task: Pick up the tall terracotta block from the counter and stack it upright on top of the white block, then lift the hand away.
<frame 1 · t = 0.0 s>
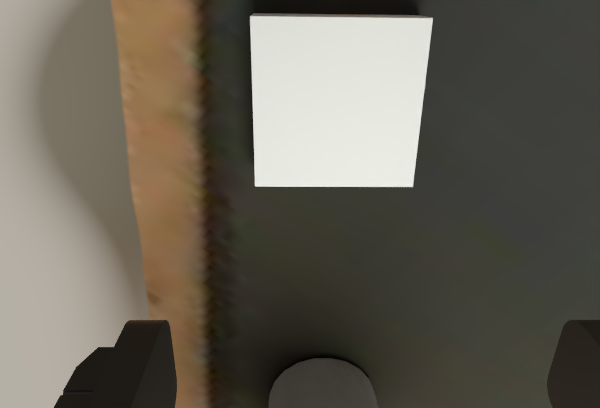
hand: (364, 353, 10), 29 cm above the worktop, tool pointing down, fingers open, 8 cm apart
white block: (333, 96, 37), on the worktop
canister: (321, 392, 50), on the worktop
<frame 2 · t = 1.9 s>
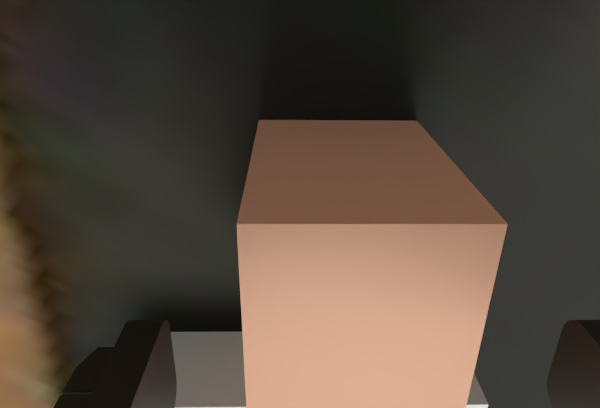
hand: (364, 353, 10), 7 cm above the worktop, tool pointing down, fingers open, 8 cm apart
terracotta block: (334, 191, 16), on the worktop
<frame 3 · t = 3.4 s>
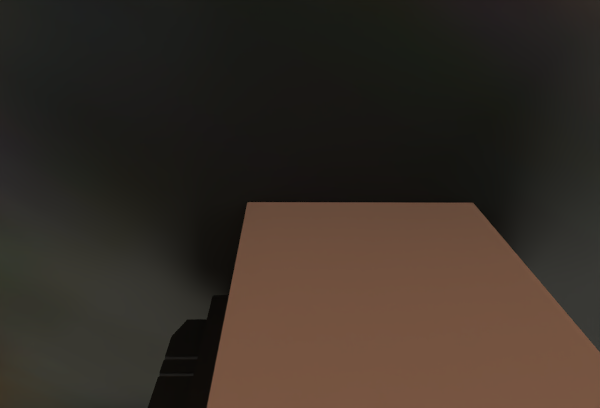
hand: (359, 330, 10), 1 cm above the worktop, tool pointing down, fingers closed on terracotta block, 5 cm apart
terracotta block: (354, 296, 12), on the worktop, touching gripper
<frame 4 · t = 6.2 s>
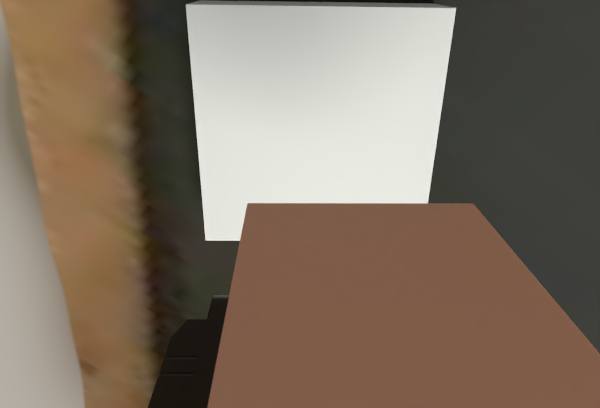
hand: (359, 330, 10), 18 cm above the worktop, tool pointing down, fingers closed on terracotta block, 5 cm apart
white block: (314, 115, 27), on the worktop
terracotta block: (354, 296, 12), point 17 cm above the worktop, touching gripper
when the fingers open (6 cm above the worktop, at t = 9.3 s): terracotta block drops 1 cm, resting on white block.
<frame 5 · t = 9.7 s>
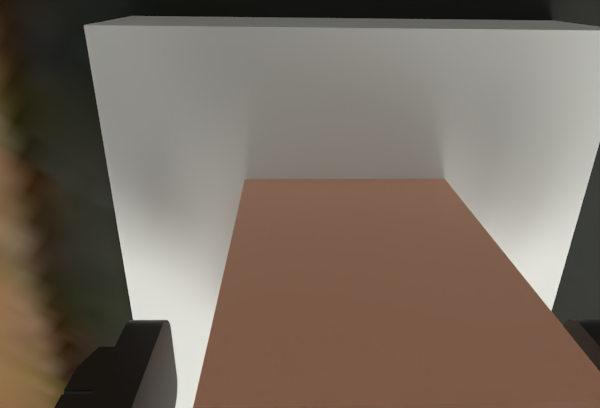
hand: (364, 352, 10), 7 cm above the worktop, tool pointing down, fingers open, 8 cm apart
white block: (334, 202, 17), on the worktop, touching terracotta block
terracotta block: (341, 264, 13), point 3 cm above the worktop, touching white block
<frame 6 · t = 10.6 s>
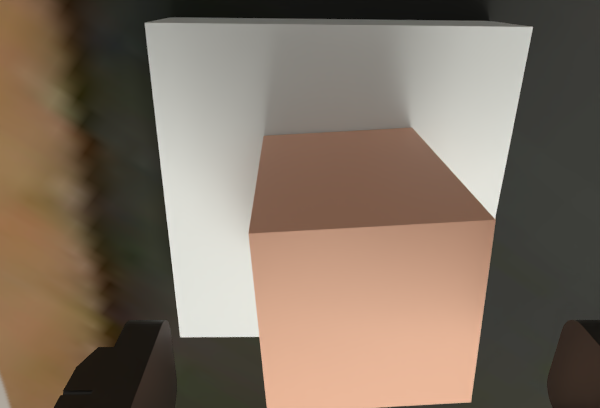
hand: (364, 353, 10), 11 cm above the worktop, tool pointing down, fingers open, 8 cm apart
white block: (325, 165, 21), on the worktop, touching terracotta block
terracotta block: (339, 199, 17), point 4 cm above the worktop, touching white block
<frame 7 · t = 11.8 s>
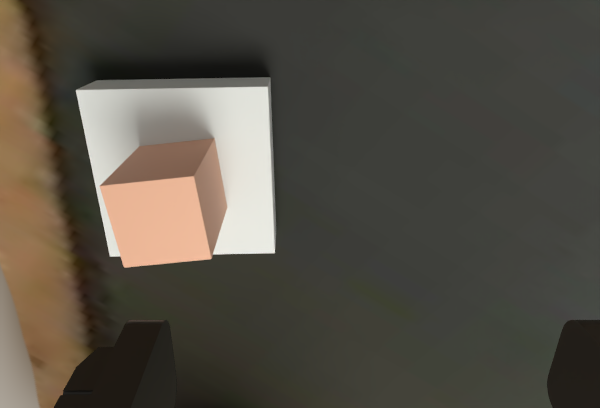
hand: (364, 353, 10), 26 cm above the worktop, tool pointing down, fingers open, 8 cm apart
white block: (194, 158, 36), on the worktop
terracotta block: (184, 177, 32), point 4 cm above the worktop
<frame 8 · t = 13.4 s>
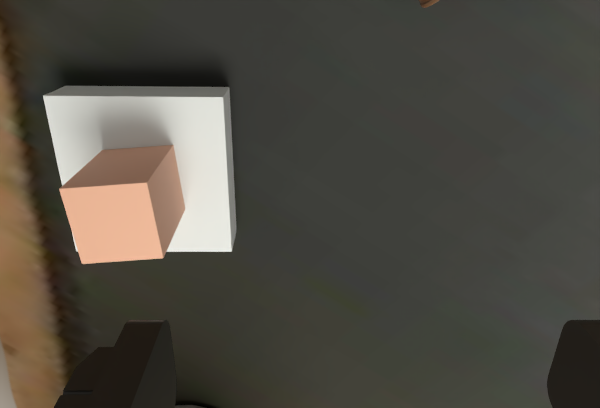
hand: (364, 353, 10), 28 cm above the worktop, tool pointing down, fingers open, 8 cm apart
white block: (158, 161, 38), on the worktop, touching terracotta block
terracotta block: (145, 180, 34), point 4 cm above the worktop, touching white block
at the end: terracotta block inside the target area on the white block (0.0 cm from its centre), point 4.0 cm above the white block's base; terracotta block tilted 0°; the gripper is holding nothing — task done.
